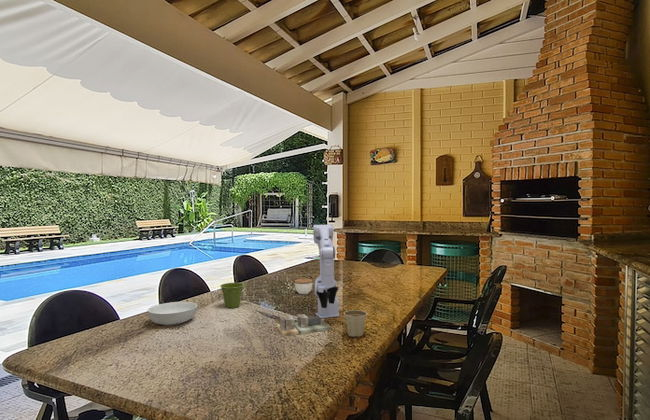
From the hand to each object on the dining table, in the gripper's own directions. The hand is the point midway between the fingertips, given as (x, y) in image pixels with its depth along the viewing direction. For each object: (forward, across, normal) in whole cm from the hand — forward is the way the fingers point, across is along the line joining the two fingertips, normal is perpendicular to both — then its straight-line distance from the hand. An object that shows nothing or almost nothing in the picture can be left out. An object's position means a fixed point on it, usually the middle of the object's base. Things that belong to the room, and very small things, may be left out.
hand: (327, 305), depth 164 cm
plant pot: (+9, -7, -58) cm, 59 cm away
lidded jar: (+9, -48, -38) cm, 62 cm away
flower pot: (+9, +6, +15) cm, 19 cm away
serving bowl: (+9, +24, -66) cm, 71 cm away
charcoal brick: (+7, +7, -6) cm, 11 cm away
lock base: (+9, +9, -8) cm, 14 cm away
